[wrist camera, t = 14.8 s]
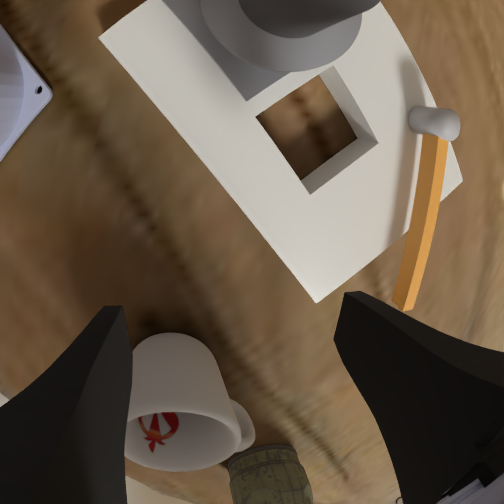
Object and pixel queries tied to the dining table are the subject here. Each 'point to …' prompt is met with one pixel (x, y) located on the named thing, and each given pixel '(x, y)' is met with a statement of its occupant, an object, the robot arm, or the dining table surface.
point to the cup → (181, 407)
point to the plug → (285, 30)
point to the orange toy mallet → (425, 196)
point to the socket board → (266, 152)
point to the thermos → (269, 476)
